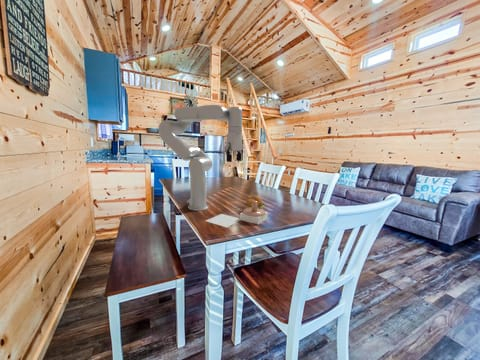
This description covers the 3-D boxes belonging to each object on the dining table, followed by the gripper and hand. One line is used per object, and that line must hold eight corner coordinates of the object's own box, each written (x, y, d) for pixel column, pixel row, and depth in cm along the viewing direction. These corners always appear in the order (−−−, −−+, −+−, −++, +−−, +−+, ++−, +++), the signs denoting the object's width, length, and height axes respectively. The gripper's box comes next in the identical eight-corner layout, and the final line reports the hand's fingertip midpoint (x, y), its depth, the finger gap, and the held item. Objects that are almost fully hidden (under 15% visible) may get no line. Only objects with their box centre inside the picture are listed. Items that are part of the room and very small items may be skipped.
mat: (204, 221, 108) (204, 220, 108) (221, 214, 120) (221, 213, 120) (226, 228, 101) (226, 227, 101) (242, 219, 113) (242, 219, 113)
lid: (238, 213, 111) (239, 201, 110) (250, 207, 121) (250, 197, 120) (259, 218, 104) (259, 206, 103) (269, 212, 114) (269, 200, 113)
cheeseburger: (266, 209, 131) (265, 195, 127) (259, 218, 123) (258, 203, 119) (252, 206, 136) (251, 192, 132) (244, 214, 128) (242, 200, 124)
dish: (239, 220, 112) (240, 213, 111) (250, 214, 121) (250, 208, 120) (258, 225, 106) (258, 217, 105) (267, 219, 115) (268, 212, 114)
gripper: (237, 131, 125) (237, 160, 128) (219, 129, 111) (219, 161, 114) (248, 131, 121) (247, 161, 124) (231, 129, 107) (230, 162, 110)
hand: (234, 161), depth 119 cm, fingers open, 9 cm apart
